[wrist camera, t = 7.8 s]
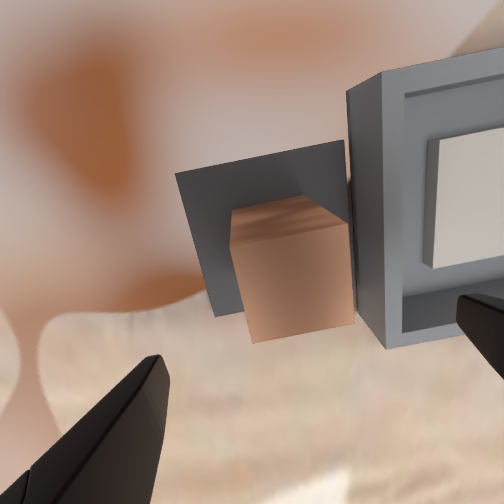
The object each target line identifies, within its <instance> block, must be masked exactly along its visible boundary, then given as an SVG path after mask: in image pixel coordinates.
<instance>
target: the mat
mask: <svg viewBox="0 0 504 504" xmlns="http://www.w3.org/2000/svg"><path fill="white" fill-rule="evenodd" d="M175 176H176V180H177V183H178V187H179V191H180V194H181V197H182V201H183V205H184V209H185V212H186V216H187V219H188V223H189V226H190V230H191V234H192V237H193V241H194V244H195V248H196V251H197V255H198V258H199V262H200V266H201V269H202V273H203V276H204V280H205V284H206V287H207V291H208V294H209V298H210V301H211V305H212V309H213V312H214V316H215V317H218V316H223V315H228V314H233V313H238V312H243V311H244V306H243V302H242V298H241V294H240V290H239V285H238V281H237V277H236V273H235V269H234V264H233V260H232V256H231V252H230V232H231V216H232V210H234V209H239V208H244V207H249V206H253V205H258V204H263V203H268V202H273V201H278V200H283V199H288V198H293V197H297V196H302V195H304V196H306V197H307V198H309V199H310V200H312V201H313V202H315V203H317V204H318V205H320V206H321V207H323V208H324V209H326V210H328V211H329V212H331V213H332V214H334V215H335V216H337V217H338V218H340V219H342V220H343V221H345V222H346V223H348V231H349V245H350V260H351V274H352V258H351V242H350V226H349V210H348V194H347V178H346V162H345V146H344V140H338V141H333V142H328V143H323V144H318V145H313V146H309V147H303V148H298V149H293V150H288V151H283V152H279V153H273V154H269V155H264V156H259V157H254V158H249V159H244V160H239V161H234V162H229V163H224V164H219V165H214V166H209V167H204V168H200V169H195V170H189V171H184V172H179V173H175ZM352 288H353V274H352Z"/></svg>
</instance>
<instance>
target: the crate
mask: <svg viewBox="0 0 504 504" xmlns="http://www.w3.org/2000/svg"><path fill="white" fill-rule="evenodd" d="M346 99H347V100H346V101H347V119H348V137H349V154H350V172H351V190H352V207H353V225H354V243H355V260H356V278H357V295H358V313H359V315H360V316H361V318H362V319H363V320H364V321H365V323H366V324H367V325H368V327H369V328H370V329H371V331H372V332H373V333H374V335H375V336H376V337H377V339H378V340H379V341H380V343H381V344H382V345H383V347H384V348H385V349H386V350H387V349H392V348H397V347H402V346H407V345H413V344H418V343H423V342H428V341H433V340H439V339H444V338H449V337H454V336H460V335H465V334H464V332H463V331H462V330H461V329H460V327H459V326H458V324H457V322H456V308H457V299H458V297H459V296H460V295H462V294H467V293H472V292H476V293H481V294H485V295H489V296H493V297H498V298H502V299H504V47H500V48H496V49H491V50H486V51H481V52H476V53H471V54H466V55H461V56H456V57H451V58H447V59H442V60H437V61H432V62H427V63H422V64H417V65H412V66H408V67H403V68H398V69H393V70H388V71H383V72H380V73H378V74H377V75H375V76H373V77H371V78H369V79H367V80H366V81H364V82H362V83H360V84H359V85H356V86H355V87H353V88H351V89H349V90H347V91H346Z"/></svg>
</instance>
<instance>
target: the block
mask: <svg viewBox="0 0 504 504" xmlns="http://www.w3.org/2000/svg"><path fill="white" fill-rule="evenodd" d="M230 252H231V256H232V260H233V264H234V269H235V273H236V277H237V281H238V285H239V290H240V294H241V298H242V302H243V306H244V311H245V315H246V319H247V323H248V327H249V332H250V336H251V340H252V344H253V343H258V342H263V341H268V340H273V339H278V338H284V337H289V336H294V335H299V334H304V333H309V332H314V331H319V330H324V329H329V328H334V327H339V326H344V325H349V324H354V323H355V317H354V303H353V288H352V274H351V260H350V245H349V231H348V223H346V222H345V221H343V220H342V219H340V218H338V217H337V216H335V215H334V214H332V213H331V212H329V211H328V210H326V209H324V208H323V207H321V206H320V205H318V204H317V203H315V202H313V201H312V200H310V199H309V198H307V197H306V196H304V195H302V196H297V197H293V198H288V199H283V200H278V201H273V202H268V203H263V204H258V205H253V206H249V207H244V208H239V209H234V210H232V216H231V232H230Z"/></svg>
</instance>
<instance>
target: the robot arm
mask: <svg viewBox="0 0 504 504" xmlns="http://www.w3.org/2000/svg"><path fill="white" fill-rule="evenodd" d="M456 322H457V324H458V326H459V327H460V329H461V330H462V331H463V332H464V334H465V335H466V336H467V337H468V338H469V340H470V341H471V342H472V343H473V344H474V346H475V347H476V348H477V349H478V350H479V352H480V353H481V354H482V355H483V356H484V358H485V359H486V360H487V361H488V363H489V364H490V365H491V366H492V367H493V368H494V369H495V371H496V372H497V373H498V374H499V375H500V376H501V377H502V378H503V379H504V299H502V298H498V297H493V296H489V295H485V294H481V293H476V292H472V293H467V294H462V295H460V296H459V297H458V299H457V308H456ZM169 388H170V376H169V373H168V370H167V368H166V365H165V363H164V360H163V358H162V356H161V355H159V354H158V355H153V356H148V357H146V358H144V359H143V360H142V361H141V362H140V363H139V364H138V365H137V366H136V367H135V368H134V369H133V370H132V371H131V372H130V373H129V374H128V375H127V376H126V377H124V378H123V379H122V380H121V381H120V382H119V383H118V384H117V385H116V386H115V387H114V388H113V389H112V390H111V391H110V392H109V393H108V394H107V395H106V396H105V397H103V398H102V399H101V400H100V401H99V402H98V403H97V404H96V405H95V406H94V407H93V408H92V409H91V410H90V411H89V412H88V413H87V414H86V415H85V416H83V417H82V418H81V419H80V420H79V421H78V422H77V423H76V424H75V425H74V426H73V427H72V428H71V429H70V430H69V431H68V432H67V433H66V434H64V435H63V436H62V437H61V438H60V439H59V440H58V441H57V442H56V443H55V444H54V445H53V446H52V447H51V448H50V449H49V450H48V451H47V452H46V453H44V454H43V455H42V456H41V457H40V458H39V459H38V460H37V461H36V462H35V463H34V464H33V465H32V466H31V467H30V470H27V471H25V472H24V474H22V475H21V476H20V477H19V478H18V479H17V480H16V481H15V482H14V483H13V484H12V485H11V486H10V487H9V488H8V489H7V490H5V491H4V492H3V493H2V494H1V495H0V504H150V501H151V497H152V492H153V487H154V482H155V478H156V473H157V468H158V464H159V459H160V454H161V449H162V445H163V439H164V433H165V425H166V416H167V406H168V397H169Z"/></svg>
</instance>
